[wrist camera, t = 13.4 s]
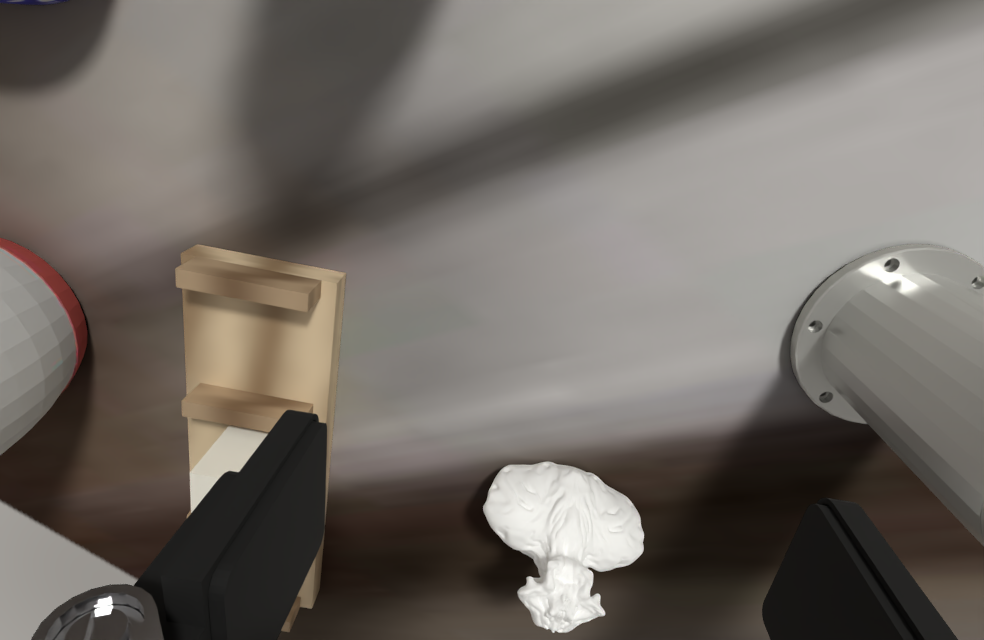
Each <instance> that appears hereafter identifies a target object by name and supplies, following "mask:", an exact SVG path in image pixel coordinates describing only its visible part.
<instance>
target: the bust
mask: <svg viewBox="0 0 984 640" xmlns="http://www.w3.org/2000/svg"><path fill="white" fill-rule="evenodd" d="M483 512H484V514H485V516H486V518H487V521H488V523H489V525H490V526H491V528H492V529H493V530H494V532H495V533H496V534H497V535H498V536H499V537H500V538H501V539H502V540H503V541H504V542H505V543H506V544H507V545H508V546H510V547H511V548H513V549H515V550H520V552H522V553H523V554H526V555H528V556H529V557H531V558H532V559H533V560H534V563H535V564H536V566H537V567H538V571H539V575H540V578H533V577H531V576H529V577H527V578H526V580H527V583H526V585H525V586H523V587H521V588H520V589H519V590H518V592H517V593H518V597H519V599H520V600H521V601H522V602H523V604H524V605H525V606H526V607H527V608H528V609H529V610H530V612H531V616H532V619H533V621H534V623H535V624H536V625H537V626H540V627H543V628H545V629H547V630H548V629H551V630H552V632H553V633H554V632H555V631H557V632H560V633H561V632H569V631H571V630H572V629H574V628H575V627H577V626H578V625H580V624H581V623H584V622H589V621H590V620H592V619H594V618H597V617H598V616H605V611H604V609H603V608H602V607H601V605H600V598H601V597H600V594H595V595H594V596H592V597H590V590H591V587H592V584H593V572H592V571H590V570H588V568H589V567H591V568H593V569H595V570H597V571H600V572H603V571H609V570H612V569H614V568H617V567H623V566H627V565H629V564H631V563H633V562H634V561H635V560H636V559H637V558H638V557H639V556H640V555H641V554H642V553H643V550H644V546H643V540H644V533H643V530H642V527H641V518H640V516H639V513H638V511H637V509H636V508H635V507H634V505H633V504H632V502H631V501H630V500H629V499H628V498H627V497H626V496H625V495H623V494H621V493H619V492H618V491H616V490H614V489H613V488H611V487H609V486H607V485H606V484H604V483H603V481H602V480H601V479H600V478H598V477H597V476H596V475H594V474H593V473H590V472H585V471H583V470H581V469H578V468H575V467H572V466H567V465H558V464H555V463H553V462H549V461H547V462H541V463H537V464H534V465H507V466H505V467H504V468H502V469H501V470H500V472H499V473H498V474H497V476H496V477H495V479H494V481H493V483H492V485H491V487H490V489H489V491H488V497H487V500H486V502H485V504H484V506H483Z"/></svg>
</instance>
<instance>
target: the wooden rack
mask: <svg viewBox="0 0 984 640" xmlns="http://www.w3.org/2000/svg"><path fill="white" fill-rule="evenodd" d="M175 272H176V287H178V288H182V292H183V316H184V340H185V364H186V388H187V396H186V397H185V398H184V399H183V400H182V416H185V417H188V436H189V460H190V472H191V471H192V469H193V468H194V467H195V466H196V465H197V463H198V462H199V461H200V460H201V459H202V457H203V456H204V455H205V454H206V453H207V451H208V450H209V449H210V448H211V447H212V445H213V444H214V443H215V442H216V441H217V439H218V438H219V437H220V436H221V435H222V433H223V432H224V431H225V430H226V428H227V427H228V426H229V425H233V426H238V427H244V428H249V429H254V430H260V431H265V432H270V431H271V429H272V428H273V427H274V425H275V424H276V423H277V421H278V420H279V419H280V417H281V416H282V415H283V413H284V412H285V411H286V410H295V411H301V412H308V413H314V414H317V415H318V418H319V422H322V423H326V424H327V459H326V497H325V520H326V508H327V496H328V484H329V472H330V460H331V448H332V437H333V425H334V413H335V401H336V389H337V377H338V365H339V353H340V341H341V329H342V318H343V306H344V294H345V282H346V273H343V272H338V271H333V270H328V269H323V268H317V267H312V266H307V265H302V264H297V263H292V262H286V261H281V260H276V259H271V258H266V257H260V256H255V255H250V254H245V253H240V252H235V251H229V250H224V249H219V248H214V247H209V246H204V245H198V244H197V245H195V246H193V247H192V248H190V249H188V250H186V251H184V252H182V253H181V266H179V267H177V268H175ZM190 514H191V511H190V512H189V513H188V515H187V518H188V517H189V515H190ZM324 532H325V529H324ZM323 544H324V536H323V540H322V543H321V546H320V548H319V551H318V553H317V555H316V557H315V559H314V561H313V563H312V566H311V568H310V570H309V572H308V574H307V576H306V578H305V580H304V583H303V585H302V587H301V589H300V591H299V593H298V595H297V598H296V600H295V602H294V604H293V606H292V608H291V610H290V612H289V615H288V617H287V619H286V621H285V623H284V625H283V627H282V630H281V631H285V632H290V630H291V627H292V625H293V623H294V620H295V618H296V616H297V613H298V611H299V608H300V607H304V608H310V609H312V607H313V605H314V602H315V600H316V597H317V595H318V592H319V590H320V579H321V567H322V555H323Z"/></svg>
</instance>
